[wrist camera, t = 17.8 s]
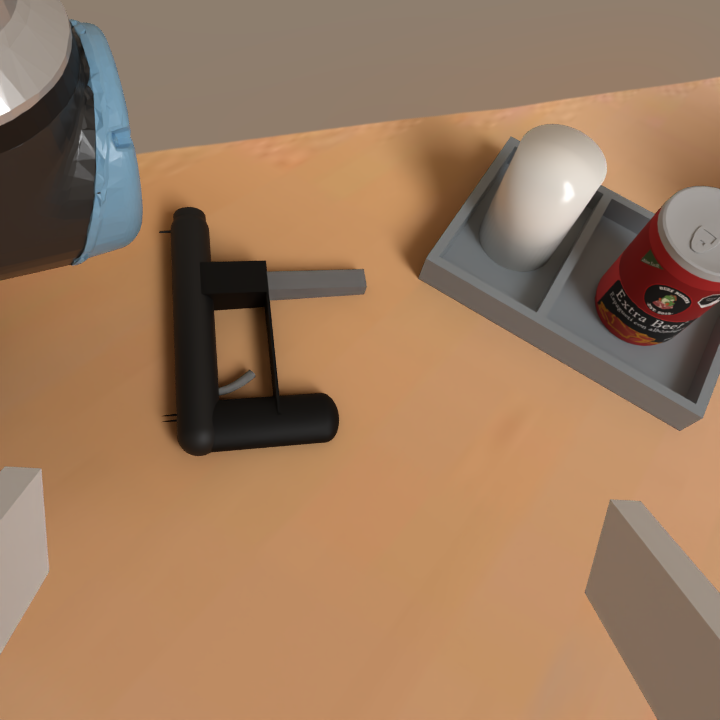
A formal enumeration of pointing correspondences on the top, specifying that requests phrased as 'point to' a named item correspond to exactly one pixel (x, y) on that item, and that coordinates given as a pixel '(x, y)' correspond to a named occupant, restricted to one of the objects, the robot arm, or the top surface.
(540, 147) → the ceramic jar
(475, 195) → the caddy
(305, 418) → the toy submachine gun
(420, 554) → the top surface
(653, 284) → the canned food
